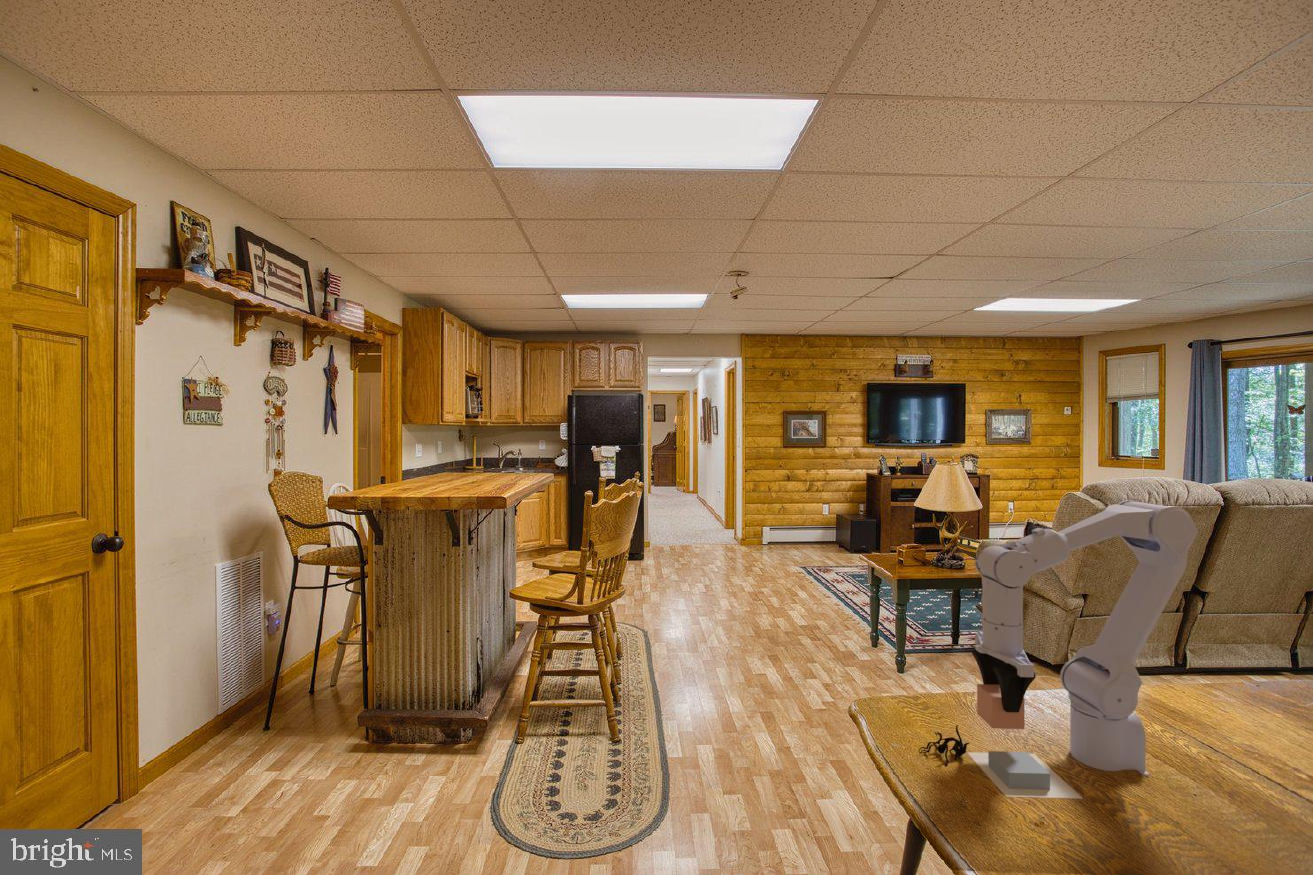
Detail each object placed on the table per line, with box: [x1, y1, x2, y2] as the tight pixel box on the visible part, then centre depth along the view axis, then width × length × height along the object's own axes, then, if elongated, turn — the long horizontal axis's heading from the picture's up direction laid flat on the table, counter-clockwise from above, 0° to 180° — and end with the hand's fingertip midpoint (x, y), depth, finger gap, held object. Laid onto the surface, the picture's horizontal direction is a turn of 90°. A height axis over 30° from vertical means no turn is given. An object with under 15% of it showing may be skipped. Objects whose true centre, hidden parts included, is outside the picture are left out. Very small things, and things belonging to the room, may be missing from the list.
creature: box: [917, 724, 971, 768], centre depth 98 cm, size 8×5×8 cm
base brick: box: [987, 750, 1050, 790], centre depth 91 cm, size 6×6×2 cm
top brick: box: [976, 683, 1026, 730], centre depth 97 cm, size 5×5×5 cm
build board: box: [966, 751, 1084, 800], centre depth 92 cm, size 11×12×1 cm
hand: (1002, 703), depth 97 cm, fingers closed on top brick, 5 cm apart
